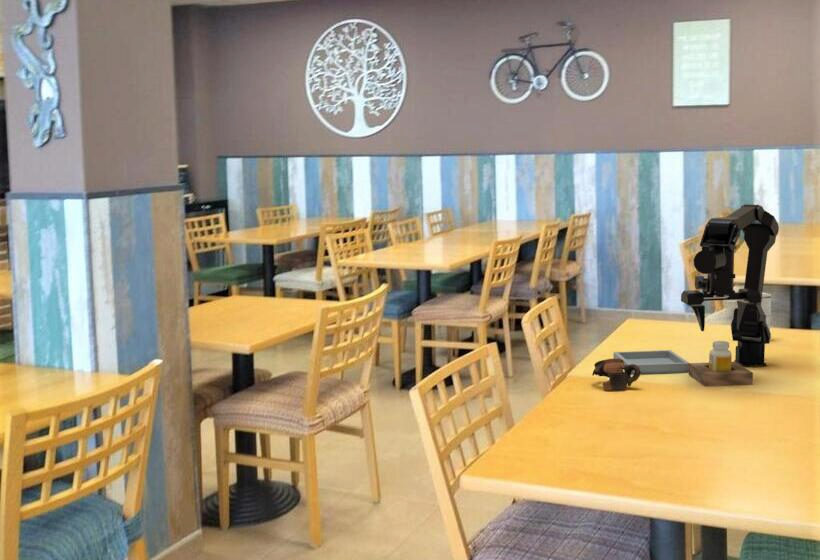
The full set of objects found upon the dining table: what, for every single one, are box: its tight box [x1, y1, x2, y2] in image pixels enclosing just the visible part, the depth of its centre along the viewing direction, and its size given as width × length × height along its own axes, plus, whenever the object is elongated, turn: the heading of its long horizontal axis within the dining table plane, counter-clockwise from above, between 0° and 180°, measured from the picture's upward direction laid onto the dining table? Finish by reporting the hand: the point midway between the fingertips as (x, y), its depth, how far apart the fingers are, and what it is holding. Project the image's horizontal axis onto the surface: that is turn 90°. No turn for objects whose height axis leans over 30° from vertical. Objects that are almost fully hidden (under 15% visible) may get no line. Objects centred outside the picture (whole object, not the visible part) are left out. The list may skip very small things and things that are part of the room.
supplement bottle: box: [708, 340, 733, 371], centre depth 246 cm, size 5×5×10 cm
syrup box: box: [760, 292, 772, 338], centre depth 290 cm, size 6×6×14 cm
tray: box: [612, 349, 690, 376], centre depth 262 cm, size 16×16×2 cm
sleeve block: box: [688, 361, 754, 387], centre depth 247 cm, size 12×12×3 cm
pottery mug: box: [592, 358, 641, 392], centre depth 242 cm, size 12×10×8 cm
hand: (720, 330), depth 245 cm, fingers open, 9 cm apart
